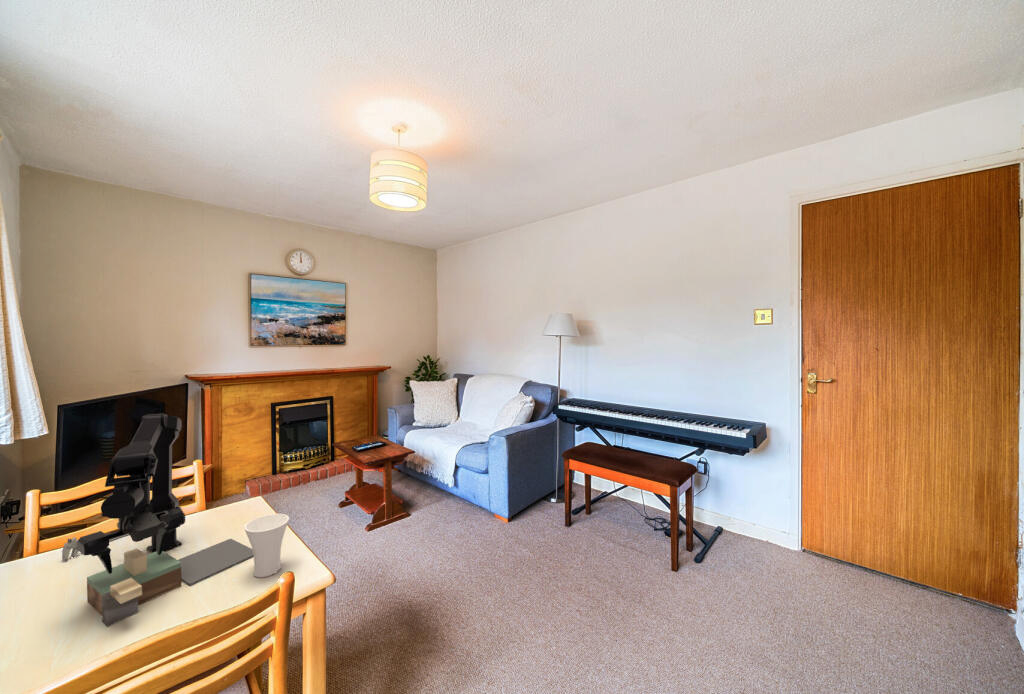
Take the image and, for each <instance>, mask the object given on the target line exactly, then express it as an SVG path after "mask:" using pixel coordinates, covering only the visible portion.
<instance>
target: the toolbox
mask: <svg viewBox="0 0 1024 694" xmlns="http://www.w3.org/2000/svg"><path fill="white" fill-rule="evenodd" d="M182 582H183V581H181V567H180V568H178V569H175V570H173V571H170V572H168V573H166V574H163V575H161V576H158V577H156V578H154V579H151V580H149V581H146V582H144V583H142V584H140V585H141V586H142V595H140V596H138V597H136V598H133V599H131V600H129V601H126V602H124V603H122V604H120V603H119V602H118V601H117V600H116V599H115V598H113V597H112V596H111V595H110V592H109V593H106V594H104V595H101V594H100V593H99V592H98V591H96V590H95V589H94V588H93V587H92V586H91V585H90V584H89V583H87V582H86V593H87V594H86V597H87V604H88V605H89V606H91V607H92V608H93V610H95V611H96V612H97V613H98V614H99V616H101V617H102V618H101V622H102V623H103V624H104V625H105V626H106V627H110V626H113V625H114V624H117V623H119V622H120V621H123V620H125V619H127V618H129V617H132V616H133V615H136V614H138V613H139V606H140V605H143V604H145V603H147V602H150V601H151V600H154V599H156V598H158V597H160V596H162V595H165V594H167V593H169V592H171V591H172V592H173V590H176V589H178V588H181V587H182Z"/></svg>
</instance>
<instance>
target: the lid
mask: <svg viewBox="0 0 1024 694" xmlns="http://www.w3.org/2000/svg"><path fill="white" fill-rule="evenodd" d="M123 562H124V563H121V564H118V565H116V566H112V573H111V574H109V573H108V572H107V570H106V569H105V570H103V571H100V572H97V573H94V574H92V575H89V576H87V577H86V584H87V583H89V584H90V585H91V586H92V587H93V588H94V589H95V590H96V591H98V592H99V593H100V594H101V595H104V594H106V593H109V592H110V586H112V585H114V584H117V583H119V582H122V581H124V580H127V579H129V578H132V579H133V580H135V581H136V582H137V583H139V584H142V583H144V582H146V581H149V580H151V579H154V578H156V577H158V576H161V575H163V574H166V573H168V572H170V571H173V570H175V569H178V568H180V567H181V562H180V561H178V559H176V558H175V557H173V556H171V555H170V554H169V553H167V552H165V551H162V553H161V555H158V554H157V551H156V552H153V553H152V552H151V553H148V554H146V553H145V552H143V551H142V550H140V549H139V548H134V549H131V550H128V551H126V552H123Z"/></svg>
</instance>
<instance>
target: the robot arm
mask: <svg viewBox="0 0 1024 694" xmlns="http://www.w3.org/2000/svg"><path fill="white" fill-rule="evenodd" d="M182 425H183V424H182V419H181V418H179V417H178V416H177V415H176V416H175V415H174V416H173V415H168V414H166V413H165V414H164V413H153V414H152V413H151V414H149V413H148V414H145V415H143V416H141V419H140V425H139V427H138V428H137V430H136V432H135V434H134V436H133V438H132V439H131V441H130V443H129V444H128V445H126V446H124V447H122V448H120V449H119V450H118V451H117V452H116V453H115V455H114V457H112V459H111V460H110V463H109V468H108V470H107V476H106V480H105V484H104V487H105V488H109V487H113V489H112V493H111V494H109V495H108V496H107V497H106V498H105V499H104V500H103V502H102V503H101V506H100V512H101V514H102V515H103V516H105V518H106V517H107V518H109V519H113V520H115V519H117V520H118V522H117V523H116V527H117V528H118V530H115V531H112V532H108V533H109V534H108V533H105V532H103V531H102V530H99V531H96V532H93V533H90V534H86V535H84V536H80V537H79V539H77V540H78V541H77V550H78V551H79V552H80V554H82V556H84V557H85V556H91V557H96V556H97V557H98V559H99V560H100V562H101V563H102V565H103V567H104V568H105V570H107V572H108V573H109V574H111V573H112V568H113V566H112V565H113V564H112V559H111V551H112V549H111V548H110V547H109V546H110V542H113V541H116V540H120V539H123V538H125V537H129V536H130V538H131V540H132V541H133V542H134V543H139V542H141V541H143V540H145V539H149V538H151V542H150V543H151V545H149V546H146V550H148V551H149V552H151V553H153V552H156V551H157V554H158V555H161V553H162V551H164V552H165V551H168V550H171V549H173V548H177V547H179V546H182V545H183V543H182V542H181V541H180V540H178V539H177V535H178V534H177V529H178V528H180V527H181V526H182V525H184V524H185V522H186V514H185V512H184V511H183V509H182V507H181V506H180V505H179V504H180V503H179V499H178V498H177V496H176V495H175V494H173V444H174V443H175V441H176V440H177V439H178V438H179V435H180V432H181V430H182V428H183V427H182ZM115 476H116V477H115ZM150 480H151V481H150ZM150 482H151V483H150ZM79 552H78V553H79Z"/></svg>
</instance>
